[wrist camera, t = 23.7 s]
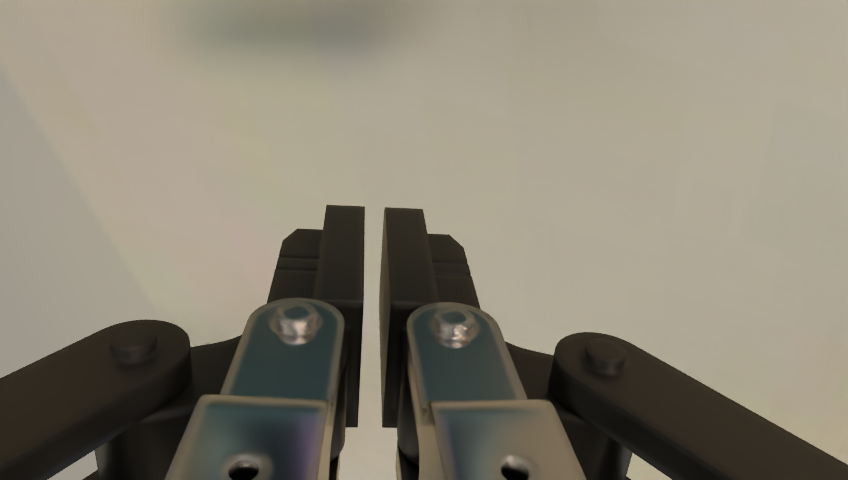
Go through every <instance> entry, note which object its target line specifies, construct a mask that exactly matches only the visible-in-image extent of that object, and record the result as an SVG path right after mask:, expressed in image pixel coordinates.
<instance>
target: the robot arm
mask: <svg viewBox="0 0 848 480" xmlns="http://www.w3.org/2000/svg"><path fill="white" fill-rule="evenodd" d="M364 220H365V207H362V206H339V205H327V206H326V213H325V220H324V227H323V230H316V229H296V230H295V231H294V232H293V233H292V234H290V235H289V236H288V237H287V238H285V239H284V240H283V242H282V246H281V250H280V254H279V258H278V261H277V265H276V270H275V273H274V277H273V281H272V285H271V289H270V293H269V296H268V300H267V304H265V305H263V306H261V307H259V308H258V309H257V310H255V311H254V312H253V313H252V314H251V315H250V317H249V319H248V321H247V324H246V326H245V329H244V331H243V334H242V335H241V336H238V337H236V338H233V339H230V340H227V341H223V342H218V343H213V344H207V345H201V346H195V347H190V341H189V337H188V335H187V333H186V332H185V331H184V330H183V329H182V328H180V327H178V326H177V325H174V324H172V323H169V322H165V321H159V320H135V321H128V322H123V323H119V324H116V325H113V326H110V327H107V328H105V329H102V330H100V331H98V332H96V333H94V334H92V335H90V336H88V337H86V338H84V339H82V340H79V341H77V342H75V343H73V344H71V345H69V346H67V347H65V348H63V349H61V350H59V351H57V352H55V353H52V354H50V355H48V356H46V357H44V358H42V359H40V360H38V361H36V362H34V363H32V364H29V365H27V366H25V367H23V368H21V369H19V370H17V371H15V372H13V373H11V374H9V375H7V376H5V377H2V378H0V480H47V479H49V478H50V477H52V476H54V475H55V474H57V473H58V472H60V471H62V470H63V469H65V468H66V467H68V466H69V465H71V464H73V463H74V462H76V461H77V460H79V459H81V458H82V457H84V456H85V455H87V454H89V453H90V452H92V451H93V450H95V455H96V461H97V467H98V470H97V471H95V472H93V473H92V474H91V475H89V476H87V477H86V478H84V479H83V480H338V477H339V468H340V452H341V450H342V448H343V446H344V442H345V427H358V408H359V387H360V365H361V344H362V323H363V300H364ZM379 320H380V357H381V394H382V427H389V428H397V436H398V440H397V453H396V476H397V480H631V479H629V478H628V477H626V474H627V471H628V467H629V464H630V460H631V456H632V453H634V454H636V455H637V456H639V457H640V458H642V459H643V460H645V461H646V462H647V463H649V464H650V465H652V466H653V467H655V468H656V469H658V470H659V471H661V472H662V473H664V474H665V475H666V476H668V477H669V478H671V479H672V480H848V465H847V464H845V463H843V462H842V461H840V460H838V459H836V458H834V457H833V456H831V455H829V454H827V453H825V452H824V451H822V450H820V449H818V448H817V447H815V446H813V445H811V444H809V443H808V442H806V441H804V440H802V439H800V438H799V437H797V436H795V435H793V434H792V433H790V432H788V431H786V430H784V429H783V428H781V427H779V426H777V425H776V424H774V423H772V422H770V421H768V420H767V419H765V418H763V417H761V416H759V415H758V414H756V413H754V412H752V411H751V410H749V409H747V408H745V407H743V406H742V405H740V404H738V403H736V402H734V401H733V400H731V399H729V398H727V397H726V396H724V395H722V394H720V393H718V392H717V391H715V390H713V389H711V388H710V387H708V386H706V385H704V384H702V383H701V382H699V381H697V380H695V379H693V378H692V377H690V376H688V375H686V374H685V373H683V372H681V371H679V370H677V369H676V368H674V367H672V366H670V365H669V364H667V363H665V362H663V361H661V360H660V359H658V358H656V357H654V356H652V355H651V354H649V353H647V352H645V351H644V350H642V349H640V348H638V347H636V346H635V345H633V344H631V343H629V342H627V341H625V340H622V339H620V338H617V337H614V336H611V335H606V334H601V333H593V332H583V333H576V334H571V335H569V336H566V337H564V338H563V339H561V340H560V341H559V342H558V344H557V346H556V348H555V353H554V356H553V355H549V354H544V353H540V352H535V351H531V350H527V349H523V348H520V347H517V346H514V345H512V344H510V343H508V342H505V340H504V338H503V335H502V333H501V330H500V328H499V326H498V324H497V322H496V321H495V320H494V319H493V318H492V317H491V316H490V315H489V314H487V313H486V312H484V311H482V310H481V309H480V305H479V302H478V298H477V295H476V291H475V288H474V284H473V280H472V277H471V276H470V270H469V266H468V264H467V259H466V255H465V252H464V248H463V247H462V246H461V245H460V244H459V243H458V242H457V241H455V240H454V239H453V238H452V237H451V236H450V235H443V234H427V230H426V224H425V219H424V213H423V209H410V208H387V207H385V210H384V223H383V240H382V257H381V274H380V296H379Z"/></svg>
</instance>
